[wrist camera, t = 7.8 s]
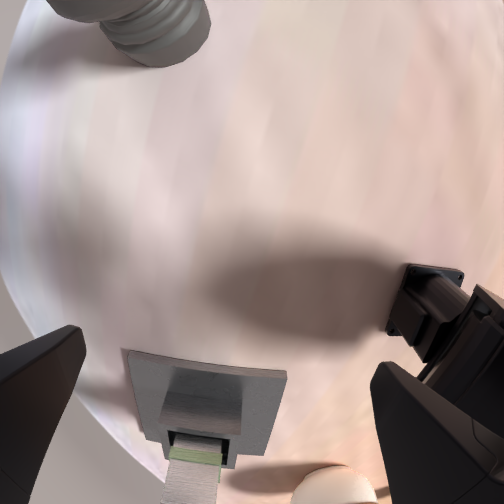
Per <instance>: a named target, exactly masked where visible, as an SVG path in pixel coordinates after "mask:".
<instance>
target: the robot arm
mask: <svg viewBox="0 0 504 504" xmlns="http://www.w3.org/2000/svg"><path fill="white" fill-rule="evenodd" d="M413 269H414V271H413V272H412V273H411V270H413ZM459 275H460V276H459ZM458 277H459V278H458ZM463 279H464V273H463V272H462V271H460V270H454V269H446V268H438V267H430V266H423V265H415V264H411V265H409V266H408V267H407V269H406V272H405V275H404V278H403V281H402V284H401V287H400V290H399V291H398V294H397V297H396V300H395V303H394V306H393V308H392V311H391V314H390V319H389V321H388V324H387V326H386V329H385V331H386V333H387V335H388V336H403V338H404V339H405V341H406V342H407V344H408V345H409V346H410V347H413V348H414V350H415V351H416V353H417V354H418V356H419V358H420V359H421V361H422V362H423V363H427V364H426V366H425V367H424V368H423V370H422V371H421V372H420V373H419V375H418V376H417V377H414V376H412V375H411V374H410V373H408V372H407V371H405V370H404V369H403V368H401V367H400V366H398V365H397V364H396V363H394V362H391V361H389V362H381V363H380V364H379V365H378V367H377V369H376V371H375V374H374V376H373V378H372V380H371V383H370V391H371V397H372V404H373V411H374V418H375V425H376V430H377V435H378V439H379V443H380V447H381V452H382V456H383V460H384V465H385V469H386V474H387V479H388V484H389V489H390V494H391V499H392V504H504V299H502V298H500V297H499V296H497V295H495V294H494V293H492V292H490V291H488V290H487V289H485V288H483V287H482V286H480V285H478V284H476V286H475V288H474V290H473V291H474V292H473V294H472V296H471V297H470V296H469V295H468V294H466V293H465V292H464V291H463V290H462V289H461V288H460V287H461V284H462V282H463ZM391 329H392V330H391ZM390 330H391V331H390ZM85 356H86V345H85V341H84V336H83V332H82V329H81V328H80V327H77V326H74V325H67V326H65V327H62V328H60V329H58V330H55V331H53V332H51V333H48V334H46V335H44V336H41V337H39V338H37V339H35V340H32V341H30V342H28V343H25V344H23V345H21V346H18V347H16V348H14V349H12V350H9V351H7V352H5V353H3V354H0V504H28V503H29V500H30V495H31V493H32V490H33V487H34V484H35V481H36V478H37V475H38V473H39V470H40V467H41V465H42V462H43V459H44V457H45V454H46V451H47V449H48V447H49V444H50V442H51V439H52V437H53V434H54V432H55V430H56V428H57V425H58V423H59V421H60V418H61V416H62V414H63V412H64V409H65V407H66V405H67V403H68V401H69V399H70V397H71V394H72V392H73V389H74V386H75V384H76V381H77V378H78V375H79V372H80V370H81V367H82V364H83V362H84V359H85Z"/></svg>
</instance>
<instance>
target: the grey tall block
mask: <svg viewBox="0 0 504 504" xmlns="http://www.w3.org/2000/svg"><path fill="white" fill-rule="evenodd" d="M221 444H222V440H219V439H211V438H203V437H196V436H190V435H184V434H178V433H176V436H175V441H174V445H173V446H171V449H170V453H169V461H170V462H169V467H168V471H167V476H166V480H165V485H164V490H163V494H162V499H161V504H216V497H217V486H218V483H220V473H221V463H222V454H221Z"/></svg>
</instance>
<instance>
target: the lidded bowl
mask: <svg viewBox="0 0 504 504" xmlns="http://www.w3.org/2000/svg"><path fill="white" fill-rule="evenodd" d="M290 504H378V501H377V497H376V494H375V491H374V489H373V487H372V485H371V484H370V482H369V481H368V480H367V478H366V477H365V476H363V475H362V474H360V473H359V472H357V471H354V470H351V468H350V467H348V466H330V467H325V468H321V469H318V470H315V471H313V472H311V473H309V474H308V475H306V476H305V478H304V480H303V481H302V482H301V483H300V484H299V485H298V486H297V488H296V489H295V491H294V492H293V495H292V497H291V501H290Z"/></svg>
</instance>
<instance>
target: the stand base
mask: <svg viewBox="0 0 504 504" xmlns="http://www.w3.org/2000/svg"><path fill="white" fill-rule="evenodd" d="M127 358H128V364H129V370H130V375H131V380H132V385H133V389H134V394H135V399H136V403H137V407H138V411H139V415H140V419H141V423H142V427H143V431H144V434H145V438H146V440H150V441H154V442H159V443H161V444H162V448H163V453H164V457H165V459H167V460H169V453H170V449H171V446H173V445H174V441H175V436H176V433H178V434H184V435H190V436H196V437H203V438H211V439H219V440H222V444H221V454H222V463H221V468H227V469H234V468H235V463H236V458H237V454H242V455H258V456H264V453H265V450H266V447H267V444H268V441H269V438H270V435H271V431H272V428H273V425H274V422H275V419H276V416H277V412H278V409H279V406H280V402H281V399H282V396H283V392H284V389H285V385H286V382H287V372H286V371H278V370H264V369H252V368H241V367H232V366H223V365H215V364H207V363H200V362H193V361H187V360H180V359H174V358H168V357H163V356H157V355H152V354H147V353H142V352H137V351H132V350H131V351H130V353H129V355H128V356H127Z"/></svg>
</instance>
